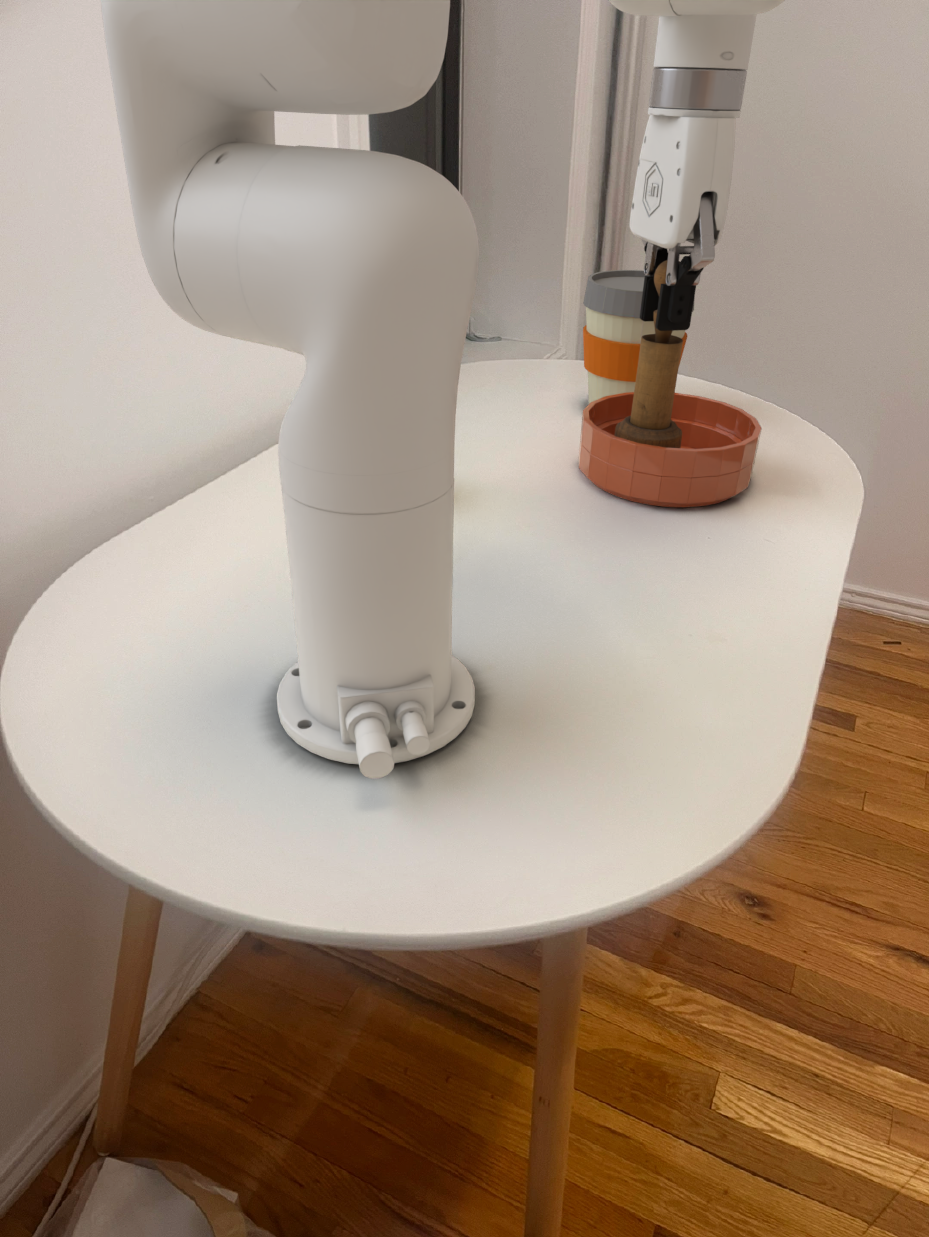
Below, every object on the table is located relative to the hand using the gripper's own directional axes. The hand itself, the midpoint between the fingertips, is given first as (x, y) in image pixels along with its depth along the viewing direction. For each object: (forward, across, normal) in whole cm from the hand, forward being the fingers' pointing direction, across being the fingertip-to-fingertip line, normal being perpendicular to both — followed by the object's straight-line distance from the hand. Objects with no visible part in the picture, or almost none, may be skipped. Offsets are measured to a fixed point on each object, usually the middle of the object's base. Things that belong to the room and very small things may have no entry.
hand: (664, 323), depth 82 cm
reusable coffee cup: (+15, -20, +6) cm, 26 cm away
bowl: (+15, 0, +2) cm, 15 cm away
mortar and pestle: (+13, 0, 0) cm, 13 cm away
